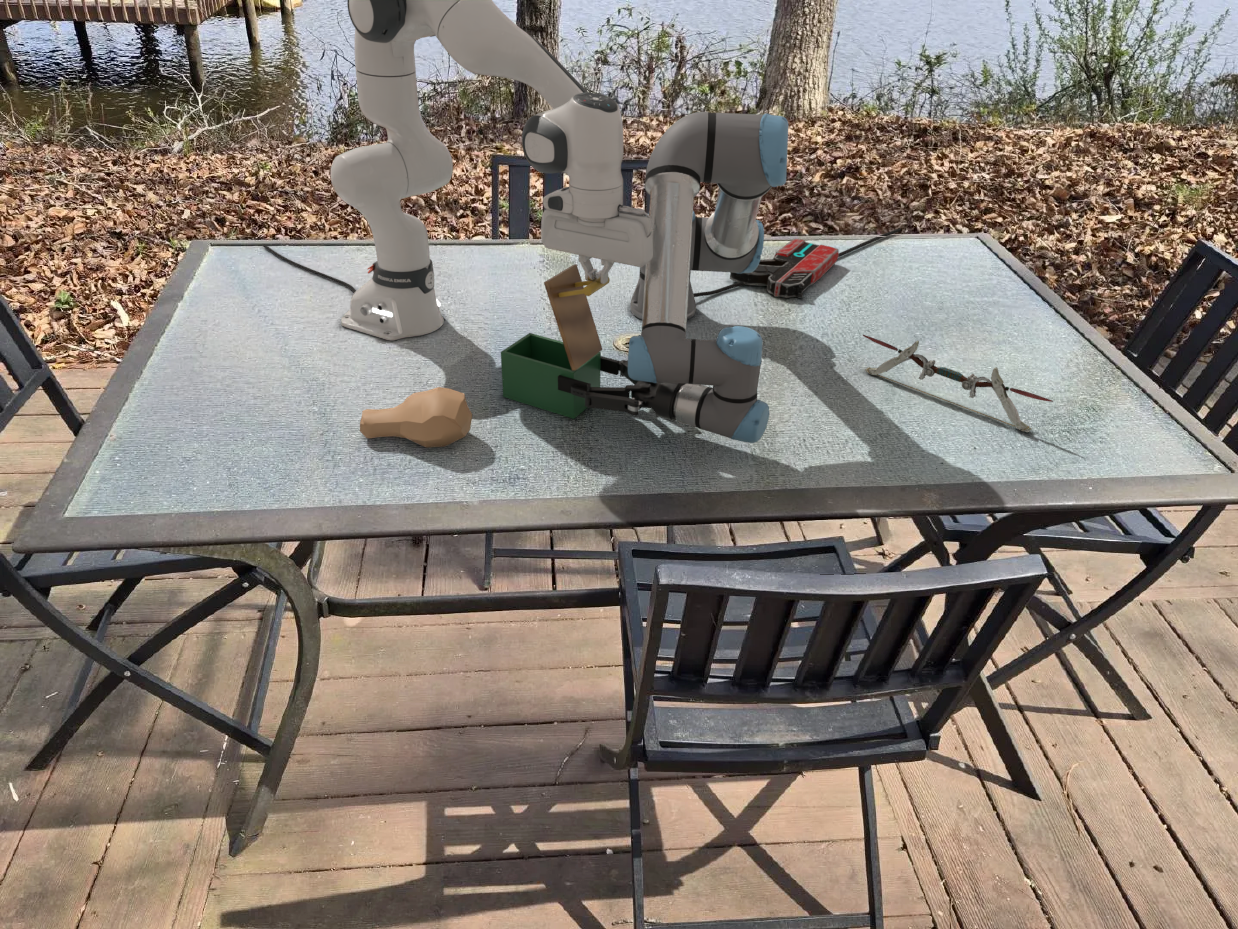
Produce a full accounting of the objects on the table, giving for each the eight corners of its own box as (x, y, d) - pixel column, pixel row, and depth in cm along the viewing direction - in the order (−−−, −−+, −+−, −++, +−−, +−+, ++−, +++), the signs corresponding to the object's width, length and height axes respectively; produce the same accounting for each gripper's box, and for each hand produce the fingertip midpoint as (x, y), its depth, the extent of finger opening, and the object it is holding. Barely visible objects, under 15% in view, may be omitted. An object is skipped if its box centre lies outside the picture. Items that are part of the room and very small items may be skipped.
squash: (473, 454, 152) (461, 415, 146) (361, 463, 154) (345, 424, 148) (480, 414, 160) (469, 375, 154) (374, 422, 162) (359, 384, 155)
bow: (1043, 434, 162) (1060, 387, 156) (1039, 438, 161) (1056, 390, 155) (858, 366, 183) (867, 322, 178) (854, 369, 182) (862, 324, 177)
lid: (543, 282, 151) (580, 276, 147) (572, 264, 158) (609, 258, 154) (571, 370, 158) (608, 367, 153) (599, 349, 165) (634, 346, 160)
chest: (502, 396, 169) (500, 351, 164) (531, 376, 176) (529, 332, 171) (573, 419, 163) (573, 372, 158) (600, 396, 170) (600, 352, 165)
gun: (726, 267, 216) (800, 286, 208) (775, 231, 238) (843, 246, 230) (724, 284, 219) (797, 304, 211) (772, 247, 241) (840, 263, 233)
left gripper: (661, 205, 142) (658, 286, 150) (554, 187, 150) (557, 265, 158) (643, 215, 137) (641, 298, 145) (534, 196, 146) (537, 276, 153)
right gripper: (651, 448, 149) (541, 414, 158) (705, 393, 165) (603, 365, 174) (654, 410, 145) (540, 377, 153) (709, 357, 161) (603, 330, 170)
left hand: (596, 281), depth 152 cm, fingers closed, pressing on lid
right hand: (573, 370), depth 164 cm, fingers closed on chest, 10 cm apart
